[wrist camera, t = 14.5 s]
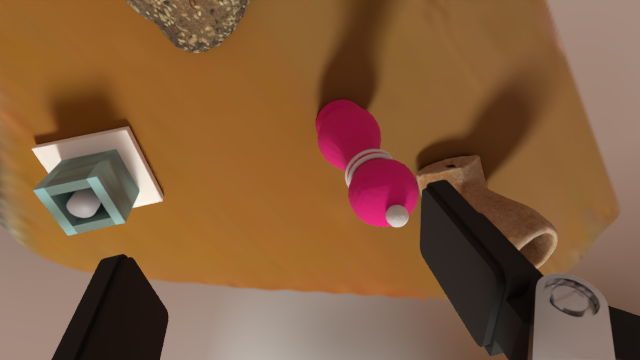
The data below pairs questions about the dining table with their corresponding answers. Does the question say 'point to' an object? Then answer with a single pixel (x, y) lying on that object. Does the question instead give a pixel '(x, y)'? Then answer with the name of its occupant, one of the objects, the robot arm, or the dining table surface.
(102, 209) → the collar
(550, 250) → the beige hollow piece
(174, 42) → the bread roll
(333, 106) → the pepper mill
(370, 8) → the dining table surface
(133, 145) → the shaft base
